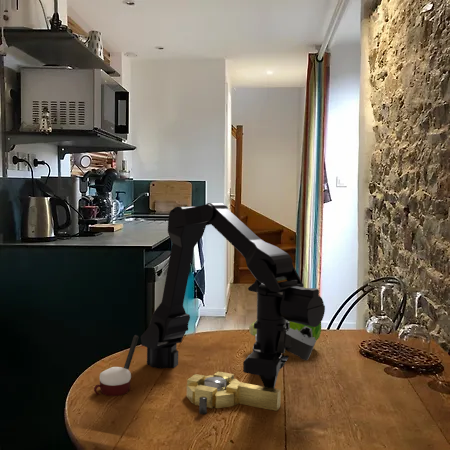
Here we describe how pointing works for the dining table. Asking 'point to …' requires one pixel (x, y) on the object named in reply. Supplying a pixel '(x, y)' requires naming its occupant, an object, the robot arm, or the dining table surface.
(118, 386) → the cocoa
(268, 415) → the dining table surface
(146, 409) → the dining table surface
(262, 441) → the dining table surface
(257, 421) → the dining table surface
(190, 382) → the wooden ring wrench
